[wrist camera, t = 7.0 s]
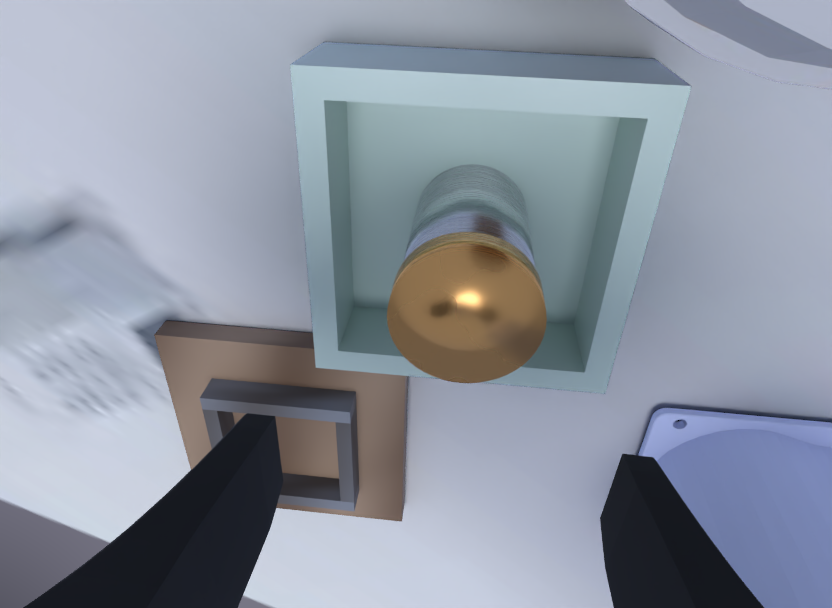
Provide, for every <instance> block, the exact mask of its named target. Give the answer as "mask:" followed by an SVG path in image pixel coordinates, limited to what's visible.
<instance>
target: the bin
mask: <svg viewBox="0 0 832 608" xmlns="http://www.w3.org/2000/svg"><path fill="white" fill-rule="evenodd" d="M290 69H291V81H292V93H293V105H294V116H295V128H296V140H297V152H298V163H299V175H300V187H301V199H302V211H303V222H304V234H305V246H306V258H307V270H308V281H309V293H310V305H311V317H312V329H313V340H314V352H315V364H316V368H325V369H336V370H347V371H358V372H369V373H380V374H391V375H402V376H413V377H424V378H435V379H439V378H437V377H434V376H431V375H429V374H427V373H425V372H423V371H421V370H420V369H418V368H417V367H415V366H414V365H413V364H411V363H410V362H409V361H408V360H407V359H406V358H405V357H404V356H403V355H402V354H401V353H400V351H399V350H398V349H397V347H396V345H395V344H394V342H393V340H392V338H391V335H390V333H389V328H388V324H387V307H388V303H389V299H390V295H391V292H392V288H393V284H394V280H395V277H396V274H397V272H398V270H399V268H400V266H401V265H402V263H403V261H404V257H405V253H406V249H407V245H408V241H409V237H410V233H411V229H412V225H413V221H414V217H415V213H416V209H417V205H418V202H419V199H420V196H421V194H422V192H423V191H424V189H425V188H426V186H427V185H428V184H429V183H430V182H431V181H432V180H433V179H434V178H435V177H436V176H438V175H439V174H440V173H442V172H444V171H446V170H448V169H450V168H453V167H456V166H460V165H468V164H477V165H484V166H488V167H491V168H494V169H496V170H498V171H500V172H502V173H504V174H505V175H507V176H508V177H509V178H510V179H511V180H512V181H513V182H514V183H515V184H516V185H517V186H518V188H519V189H520V191H521V193H522V195H523V197H524V200H525V203H526V207H527V214H528V221H529V227H530V234H531V241H532V248H533V255H534V262H535V268H536V270H537V272H538V275H539V277H540V280H541V284H542V288H543V294H544V300H545V307H546V316H547V322H546V330H545V334H544V337H543V340H542V342H541V344H540V346H539V347H538V349H537V351H536V352H535V353H534V355H533V356H532V357H531V358H530V359H529V360H528V361H527V362H526V363H525V364H524V365H523V366H521V367H520V368H518V369H517V370H515V371H513V372H512V373H510V374H508V375H506V376H503V377H500V378H498V379H494V380H490V381H485V382H479V383H490V384H502V385H513V386H524V387H535V388H546V389H557V390H568V391H579V392H590V393H601V394H605V392H606V389H607V385H608V381H609V378H610V374H611V371H612V367H613V364H614V360H615V357H616V353H617V349H618V346H619V342H620V339H621V335H622V332H623V328H624V325H625V321H626V317H627V314H628V310H629V307H630V303H631V300H632V296H633V293H634V289H635V286H636V282H637V278H638V275H639V271H640V268H641V264H642V261H643V257H644V254H645V250H646V246H647V243H648V239H649V236H650V232H651V229H652V225H653V222H654V218H655V214H656V211H657V207H658V204H659V200H660V197H661V193H662V190H663V186H664V182H665V179H666V175H667V172H668V168H669V165H670V161H671V158H672V154H673V150H674V147H675V143H676V140H677V136H678V133H679V129H680V126H681V122H682V118H683V115H684V111H685V108H686V104H687V101H688V97H689V94H690V90H691V85H689V84H688V83H687V82H685V81H684V80H683V79H681V78H680V77H679V76H677V75H676V74H675V73H673V72H672V71H671V70H669V69H668V68H667V67H665V66H664V65H663V64H661V63H660V62H659V61H657V60H656V59H652V58H632V57H612V56H592V55H572V54H552V53H532V52H512V51H492V50H472V49H453V48H433V47H413V46H393V45H373V44H353V43H333V42H323V43H322V44H320V45H319V46H317V47H316V48H314V49H313V50H311V51H310V52H308V53H307V54H305V55H304V56H302V57H301V58H299V59H298V60H296V61H295V62H293V63H292V64H290Z"/></svg>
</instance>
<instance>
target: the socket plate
mask: <svg viewBox="0 0 832 608" xmlns="http://www.w3.org/2000/svg"><path fill="white" fill-rule="evenodd" d="M154 336H155V339H156V343H157V347H158V350H159V354H160V358H161V361H162V365H163V369H164V372H165V376H166V380H167V383H168V387H169V391H170V394H171V398H172V402H173V405H174V409H175V413H176V416H177V420H178V423H179V427H180V431H181V434H182V438H183V442H184V445H185V449H186V453H187V456H188V460H189V464H190V467H191V470H192V469H193V468H194V467H195V466H196V465H197V464H198V463H199V462H200V461H201V460H202V459H203V458H204V457H205V456H206V455H207V454H208V453H209V452H210V451H211V449H212V448H213V447H214V446H215V445H216V444H217V443H218V442H219V441H220V440H221V439H222V438H223V437H224V436H225V435H226V434H227V433H228V432H229V431H230V429H231V428H232V427H233V426H234V425H235V424H236V423H237V422H238V421H239V420H240V419H241V418H242V417H243V416H244V415H245V414H247V413H251V414H260V415H269V416H275V418H276V426H277V434H278V442H279V450H280V458H281V466H282V474H283V485H282V488H281V492H280V496H279V499H278V503H277V507H276V508H282V509H292V510H301V511H310V512H319V513H329V514H338V515H347V516H356V517H365V518H375V519H384V520H393V521H402V516H403V509H404V496H405V462H406V428H407V394H408V376H402V375H391V374H380V373H369V372H358V371H347V370H336V369H325V368H316V364H315V352H314V340H313V333H305V332H294V331H282V330H271V329H259V328H247V327H236V326H224V325H213V324H201V323H189V322H178V321H165V322H164V324H163V325H162V326H161V327H160V329H159V330H158V331H157V332H156V333H155V335H154Z"/></svg>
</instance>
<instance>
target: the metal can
mask: <svg viewBox="0 0 832 608" xmlns="http://www.w3.org/2000/svg"><path fill="white" fill-rule="evenodd" d="M546 322H547V316H546V307H545V300H544V294H543V288H542V284H541V280H540V277H539V275H538V272H537V270H536V268H535V262H534V255H533V248H532V241H531V234H530V227H529V221H528V214H527V207H526V203H525V200H524V197H523V195H522V193H521V191H520V189H519V188H518V186H517V185H516V184H515V183H514V182H513V181H512V180H511V179H510V178H509V177H508V176H507V175H505V174H504V173H502V172H500V171H498V170H496V169H494V168H491V167H488V166H484V165H477V164H468V165H460V166H456V167H453V168H450V169H448V170H446V171H444V172H442V173H440V174H439V175H438V176H436V177H435V178H434V179H433V180H432V181H431V182H430V183H429V184H428V185H427V186H426V188H425V189H424V191H423V192H422V194H421V196H420V199H419V202H418V205H417V209H416V213H415V217H414V221H413V225H412V229H411V233H410V237H409V241H408V245H407V249H406V253H405V257H404V261H403V263H402V265H401V266H400V268H399V270H398V272H397V274H396V277H395V280H394V284H393V288H392V292H391V295H390V299H389V303H388V307H387V324H388V328H389V333H390V335H391V338H392V340H393V342H394V344H395V345H396V347H397V349H398V350H399V351H400V353H401V354H402V355H403V356H404V357H405V358H406V359H407V360H408V361H409V362H410V363H411V364H413V365H414V366H415V367H417V368H418V369H420V370H421V371H423V372H425V373H427V374H429V375H431V376H434V377H437V378H439V379H443V380H447V381H451V382H459V383H479V382H485V381H490V380H494V379H498V378H500V377H503V376H506V375H508V374H510V373H512V372H513V371H515V370H517V369H518V368H520V367H521V366H523V365H524V364H525V363H526V362H527V361H528V360H529V359H530V358H531V357H532V356H533V355H534V353H535V352H536V351H537V349H538V347H539V346H540V344H541V342H542V340H543V337H544V334H545V330H546Z"/></svg>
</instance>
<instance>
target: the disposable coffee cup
mask: <svg viewBox="0 0 832 608" xmlns="http://www.w3.org/2000/svg"><path fill="white" fill-rule="evenodd" d="M625 1H626V2H627V4H628V5H629V6H630V7H632V8H633V9H634V10H635V11H637V12H638V13H639V14H641V15H642V16H643V17H645V18H646V19H647V20H649V21H650V22H651V23H653V24H655V25H656V26H658V27H659V28H661V29H662V30H664V31H665V32H667V33H669V34H670V35H672V36H673V37H675V38H676V39H678V40H679V41H681V42H682V43H684V44H686V45H687V46H689V47H690V48H692V49H693V50H695V51H696V52H698V53H700V54H701V55H703V56H705V57H708V58H710V59H713V60H716V61H719V62H722V63H724V64H727V65H730V66H733V67H735V68H738V69H741V70H744V71H747V72H749V73H752V74H755V75H758V76H760V77H763V78H766V79H769V80H772V81H774V82H780V83H787V84H795V85H802V86H810V87H818V88H825V89H832V0H625Z"/></svg>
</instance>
